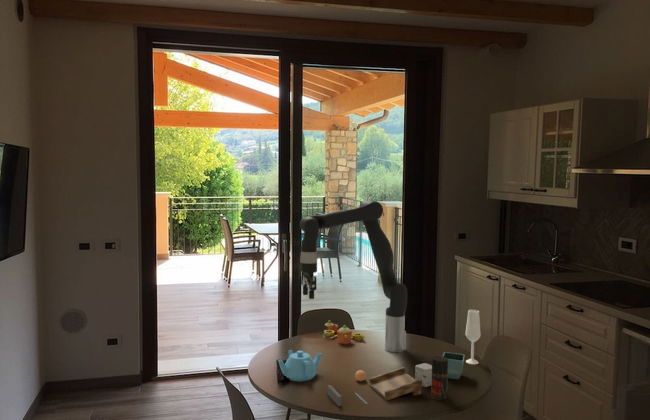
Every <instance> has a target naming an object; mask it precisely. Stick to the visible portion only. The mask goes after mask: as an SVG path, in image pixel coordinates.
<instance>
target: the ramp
mask: <svg viewBox="0 0 650 420" xmlns="http://www.w3.org/2000/svg"><path fill="white" fill-rule="evenodd" d="M368 380H369V387H370V388H371V389H372V390H374V391H375V392H376V393H377V394H378V395H379V396H381V398H383V400H385V401H390V400H392V399H395V398H399V397H402V396H403V395H407V394H409V393H410V394H412V396H419V395H422V389H423V386H422V379H419V380H415V377H412V376H411V375H409V374H408V373H407V372H406V368H405V367H404V366H402V367H400V368H397V369H394V370H390V371H388V372H384V373H381V374H379V375H375V376H371V377H370V378H368Z"/></svg>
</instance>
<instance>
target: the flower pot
mask: <svg viewBox="0 0 650 420" xmlns="http://www.w3.org/2000/svg"><path fill="white" fill-rule="evenodd" d="M442 356H443V357H446V358H448V377H447V379H452V380H460V377H461V375H462V374H463V368H464V362H465V354H463V353H455V352H448V351H447V352H446V351H444V352H443V354H442Z"/></svg>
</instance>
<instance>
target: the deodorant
mask: <svg viewBox="0 0 650 420" xmlns="http://www.w3.org/2000/svg"><path fill="white" fill-rule="evenodd" d="M431 358H432V359H431V365H432V381H431V385H430V386H431V389H430V390H431V391H430V397H431V398H432V399H434V400H438V401H444V400H446V399H447V398H448V378H447V377H448V358H446V357H443V355H435V356H432V357H431Z"/></svg>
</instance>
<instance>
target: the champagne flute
mask: <svg viewBox="0 0 650 420" xmlns="http://www.w3.org/2000/svg"><path fill="white" fill-rule="evenodd" d="M480 320H481V319H480V310H477V309H469V310H467V318H466V327H465V334H464V335H465V336H466V339H467V340H468V341H470V342H471V343H470V344H471V345H470V348H471V349H470V358H469V359H466V360H465V363H467V364H469V365H478V364H479V362H478V360H476V359H475V358H474V357H475V355H474V354H475V343H476V342H477V341H478V340H479V339H480V338H481V334H482V333H481V321H480Z"/></svg>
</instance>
